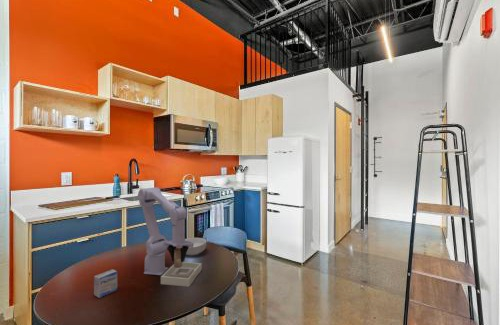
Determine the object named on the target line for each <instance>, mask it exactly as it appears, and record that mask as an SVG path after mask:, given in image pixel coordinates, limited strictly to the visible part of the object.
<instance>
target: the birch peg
mask: <svg viewBox="0 0 500 325" xmlns="http://www.w3.org/2000/svg"><path fill="white" fill-rule="evenodd" d="M180 249H181V248H179V247H178V248H177V247H176V249H174V261H173V264H174V267H175V268H180V267H182V266H183V262H184V261H183V262H181V251H180Z"/></svg>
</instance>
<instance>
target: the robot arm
mask: <svg viewBox="0 0 500 325" xmlns="http://www.w3.org/2000/svg"><path fill="white" fill-rule="evenodd" d="M137 198H138V203H139V205H140V206H141V208H142V213H143V216H144V220H145V225H146V228H147V232H148V236H149V238H148V239H147V241H146V242H145V247H146V248H145V251H146V255H145V258H144V272H143V274H144V275H152V276H153V275H154V276H155V275H156V276H162V275H163V274H164V273H165V272H166V271H167V270H168V269H169V267H167V266H165V264H166V263H165V262H166V261H165V260H166V254H167V251H168V252H169V254H170V258H171V261H172V262H174V249H176V248H177V247H179V246H182V248H181V249H180V251H181V262H185V257H186V256H187V254H186V252H187V250H188V248H189V247H190V248H192V247H193V246H194V242H188V241H185V239H186V237H185V233H186V231H185V230H186V229H185V227H186V226H185V223H186V222H185V221H186V218H187V217H188V210H187V209H186V207H184V206H179V204H177V203H176V202H174V200H173V199H168V198H166V197H165V196H164V195H163V194H162V191H161V188H159V187H158V186H154V187H148V188H139V190H138V193H137ZM157 202H158V203H159V204H160V205H161V208H162V209H163V210H164V211H165V212H166V213H167V214H168V215H169V218H170V224H171V226H172V227H171V228H172V229H171V231H172V232H171V234H172V236H171V239H170V240H167V239H166V236H165V235H162V234H161V233H160V229H159V225H158V222H157V217H156V214H155V209H154V205H155V204H156V203H157Z"/></svg>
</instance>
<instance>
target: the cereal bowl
mask: <svg viewBox="0 0 500 325" xmlns="http://www.w3.org/2000/svg"><path fill="white" fill-rule="evenodd" d="M185 241H188V242H194V246H193V247H192V248H190V247H189V248H188V250H187V252H186V256H193V257H194V256H197V255H199V254H200V253H203V252H204V251H205V249H206V247H207V240H206V239H205V238H202V237H189V238H185ZM178 248H182V246H178Z"/></svg>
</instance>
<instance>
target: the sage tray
mask: <svg viewBox="0 0 500 325" xmlns="http://www.w3.org/2000/svg"><path fill="white" fill-rule="evenodd" d="M201 271H202V262H201V263H200V262H189V261H183V266H182V267H180V268H175V267H174V263H173V264H172V265H171V266H170V267H168V269H167V270H166V271H165V272H164V273H163V274H162V275H160V285H167V286H176V287H177V286H178V287H188V288H190V287H191V285H192V284H193V282H194V281H195V279H196V278H197V277H198V275H199V274H200V273H201Z"/></svg>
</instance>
